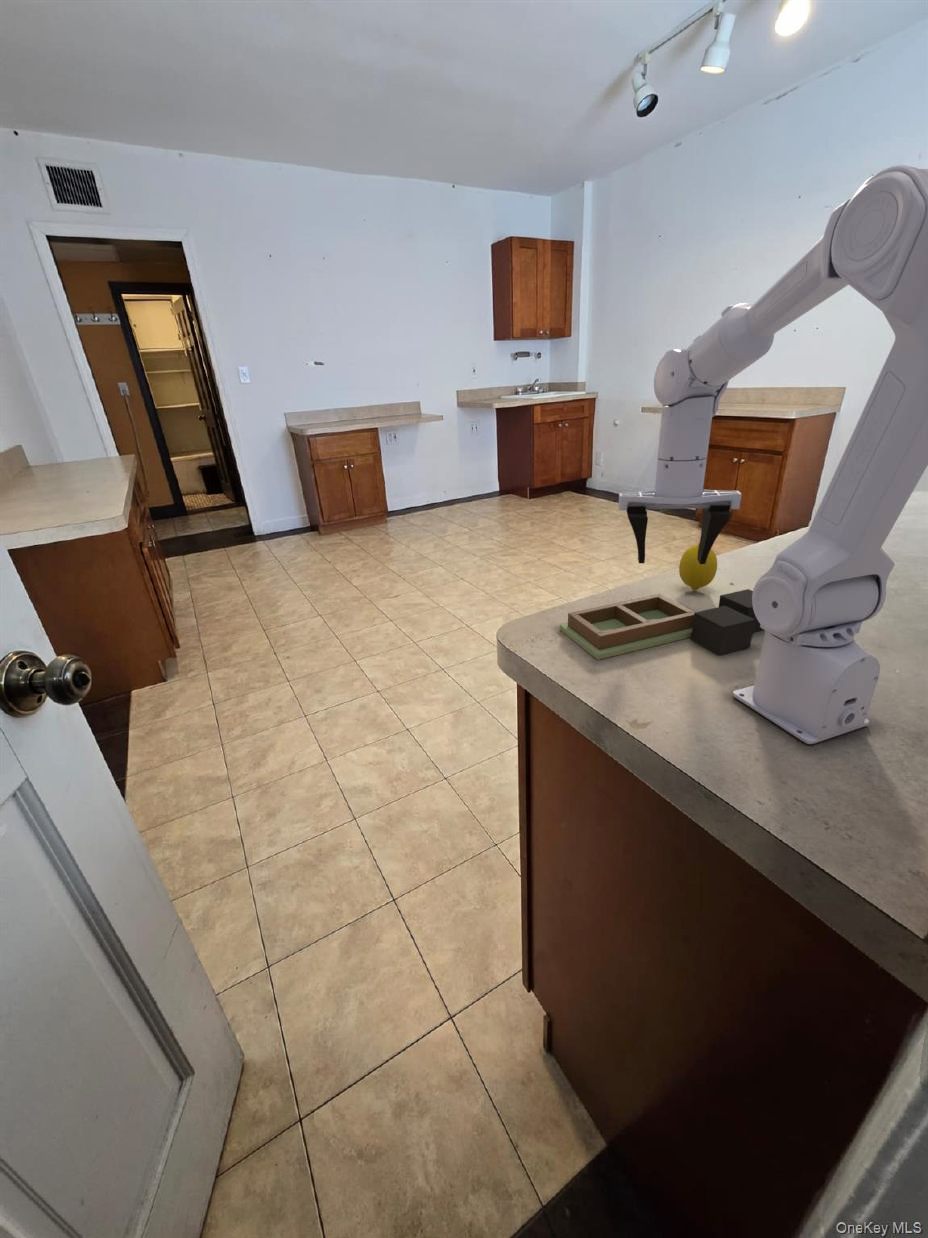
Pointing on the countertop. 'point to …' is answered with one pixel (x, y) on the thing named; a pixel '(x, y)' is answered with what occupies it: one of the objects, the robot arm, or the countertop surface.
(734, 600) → the black block
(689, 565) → the lemon
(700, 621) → the pad
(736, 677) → the countertop surface
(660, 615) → the dock
